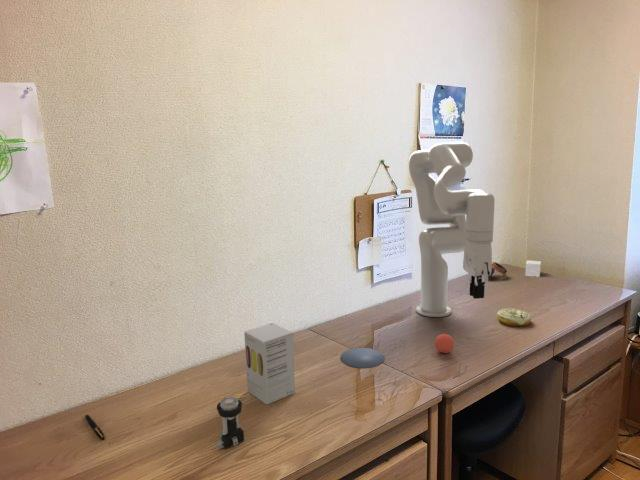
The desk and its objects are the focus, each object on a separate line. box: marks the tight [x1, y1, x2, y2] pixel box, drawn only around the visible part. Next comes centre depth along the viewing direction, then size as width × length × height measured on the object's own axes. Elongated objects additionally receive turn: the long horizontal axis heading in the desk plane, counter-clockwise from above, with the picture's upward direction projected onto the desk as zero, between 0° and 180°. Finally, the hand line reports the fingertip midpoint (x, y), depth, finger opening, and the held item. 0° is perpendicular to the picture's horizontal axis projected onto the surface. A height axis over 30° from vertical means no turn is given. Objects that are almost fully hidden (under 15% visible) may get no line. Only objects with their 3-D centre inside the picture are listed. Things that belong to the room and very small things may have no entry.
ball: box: [434, 333, 455, 354], centre depth 146 cm, size 6×6×6 cm
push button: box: [214, 396, 245, 450], centre depth 104 cm, size 7×5×10 cm
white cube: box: [524, 259, 542, 278], centre depth 223 cm, size 6×6×6 cm
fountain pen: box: [84, 413, 106, 441], centre depth 113 cm, size 14×1×2 cm, turn 41°
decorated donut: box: [497, 308, 532, 327], centre depth 168 cm, size 10×11×4 cm
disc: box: [340, 347, 385, 369], centre depth 144 cm, size 13×13×1 cm
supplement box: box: [243, 322, 296, 405], centre depth 125 cm, size 10×9×17 cm
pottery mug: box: [488, 261, 508, 281], centre depth 219 cm, size 12×9×8 cm
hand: (476, 296), depth 144 cm, fingers closed
